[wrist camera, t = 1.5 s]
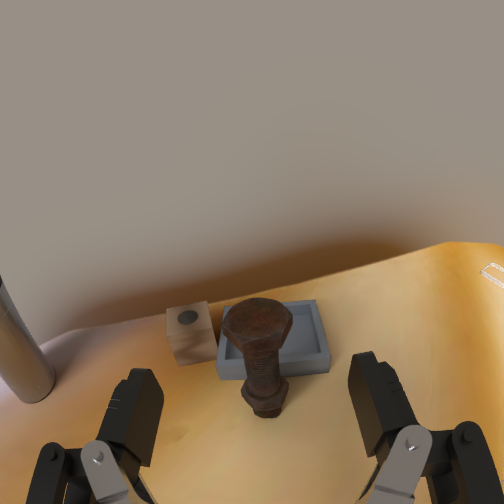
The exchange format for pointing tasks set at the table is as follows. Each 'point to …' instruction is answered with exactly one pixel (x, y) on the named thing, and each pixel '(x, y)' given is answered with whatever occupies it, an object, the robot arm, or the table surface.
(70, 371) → the table surface
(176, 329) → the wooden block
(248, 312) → the bolt
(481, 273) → the phone case
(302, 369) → the tray
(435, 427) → the table surface
